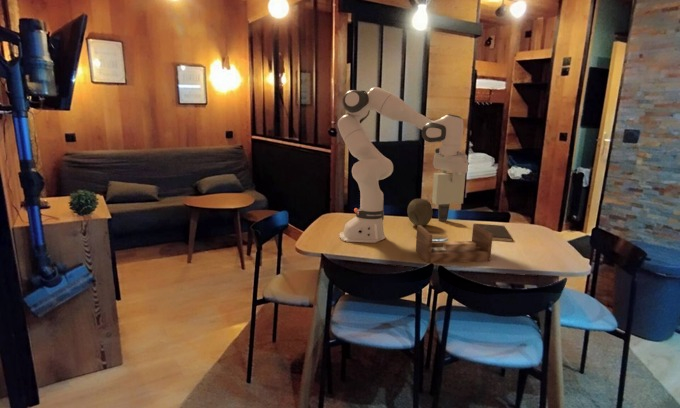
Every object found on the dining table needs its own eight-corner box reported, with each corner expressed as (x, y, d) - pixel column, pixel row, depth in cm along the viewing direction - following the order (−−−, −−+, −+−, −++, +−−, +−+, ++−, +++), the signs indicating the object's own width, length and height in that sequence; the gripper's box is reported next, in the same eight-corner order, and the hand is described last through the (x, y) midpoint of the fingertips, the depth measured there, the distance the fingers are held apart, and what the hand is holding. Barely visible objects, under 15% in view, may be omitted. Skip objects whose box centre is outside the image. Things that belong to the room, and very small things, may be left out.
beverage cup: (441, 218, 238) (444, 185, 234) (451, 221, 233) (454, 187, 228) (433, 220, 234) (436, 186, 229) (443, 223, 228) (446, 188, 224)
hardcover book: (478, 239, 201) (478, 235, 201) (473, 227, 223) (474, 223, 222) (512, 242, 198) (513, 238, 197) (504, 229, 220) (505, 225, 219)
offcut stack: (433, 261, 169) (434, 244, 168) (430, 258, 173) (431, 242, 171) (478, 260, 172) (480, 243, 170) (475, 257, 175) (476, 241, 174)
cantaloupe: (437, 227, 219) (439, 200, 216) (416, 230, 213) (418, 202, 210) (421, 221, 232) (423, 195, 228) (400, 223, 225) (402, 197, 222)
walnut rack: (426, 263, 167) (428, 235, 164) (415, 250, 181) (417, 225, 179) (489, 261, 170) (492, 233, 168) (473, 249, 185) (476, 224, 182)
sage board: (436, 204, 187) (438, 174, 184) (431, 202, 190) (433, 173, 187) (462, 203, 190) (465, 173, 187) (458, 201, 194) (460, 172, 191)
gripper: (472, 152, 177) (470, 184, 180) (442, 148, 195) (440, 177, 198) (461, 153, 174) (459, 184, 177) (432, 149, 192) (430, 177, 196)
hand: (449, 180), depth 188 cm, fingers closed on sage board, 4 cm apart
